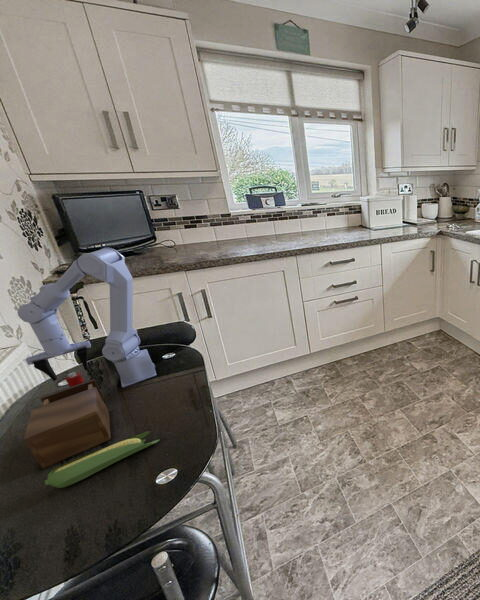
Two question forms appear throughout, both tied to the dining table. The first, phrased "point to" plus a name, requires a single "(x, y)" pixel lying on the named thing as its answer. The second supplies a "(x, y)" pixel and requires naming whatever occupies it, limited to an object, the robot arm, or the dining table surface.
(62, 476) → the edible corn
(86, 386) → the drawer
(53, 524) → the dining table surface
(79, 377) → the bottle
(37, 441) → the cabinet
